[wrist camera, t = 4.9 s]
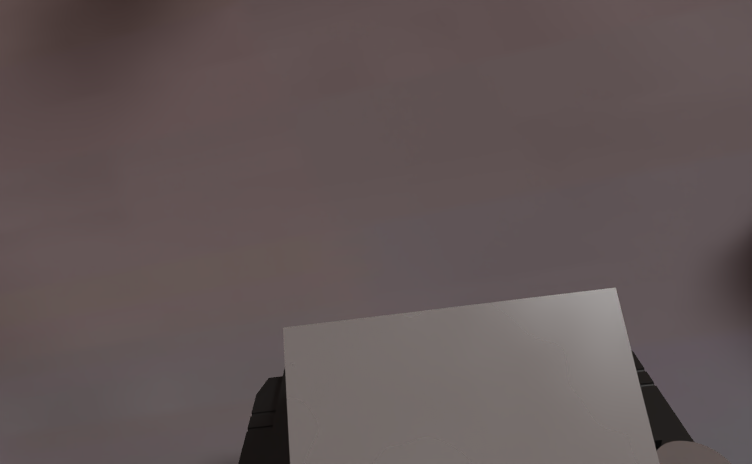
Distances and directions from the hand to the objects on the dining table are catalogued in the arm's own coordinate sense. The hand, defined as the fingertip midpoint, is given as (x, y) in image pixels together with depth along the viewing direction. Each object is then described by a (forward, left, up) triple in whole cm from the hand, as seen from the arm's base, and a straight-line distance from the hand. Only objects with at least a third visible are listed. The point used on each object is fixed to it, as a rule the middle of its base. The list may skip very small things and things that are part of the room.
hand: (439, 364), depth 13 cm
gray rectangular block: (0, -2, -5) cm, 5 cm away
